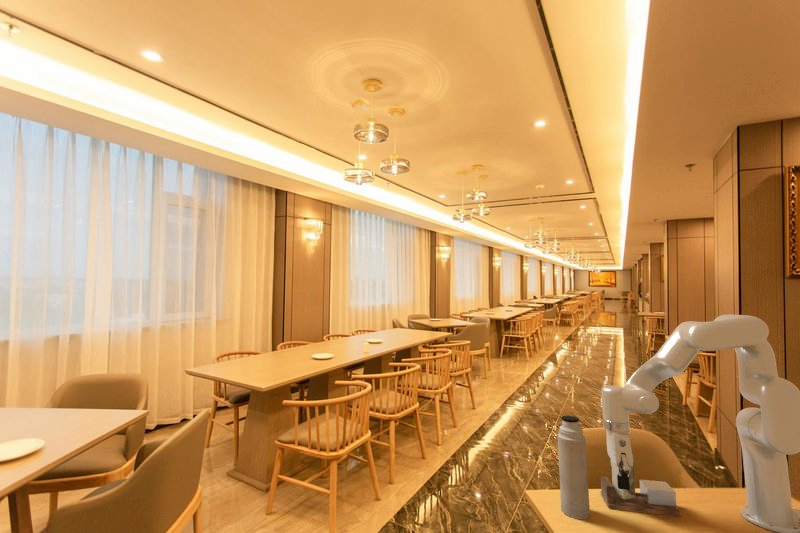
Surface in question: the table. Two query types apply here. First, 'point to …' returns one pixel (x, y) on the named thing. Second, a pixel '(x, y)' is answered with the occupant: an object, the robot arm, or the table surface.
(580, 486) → the thermos bottle
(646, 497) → the block
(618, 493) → the box
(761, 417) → the robot arm
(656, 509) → the clamp board
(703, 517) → the table surface
